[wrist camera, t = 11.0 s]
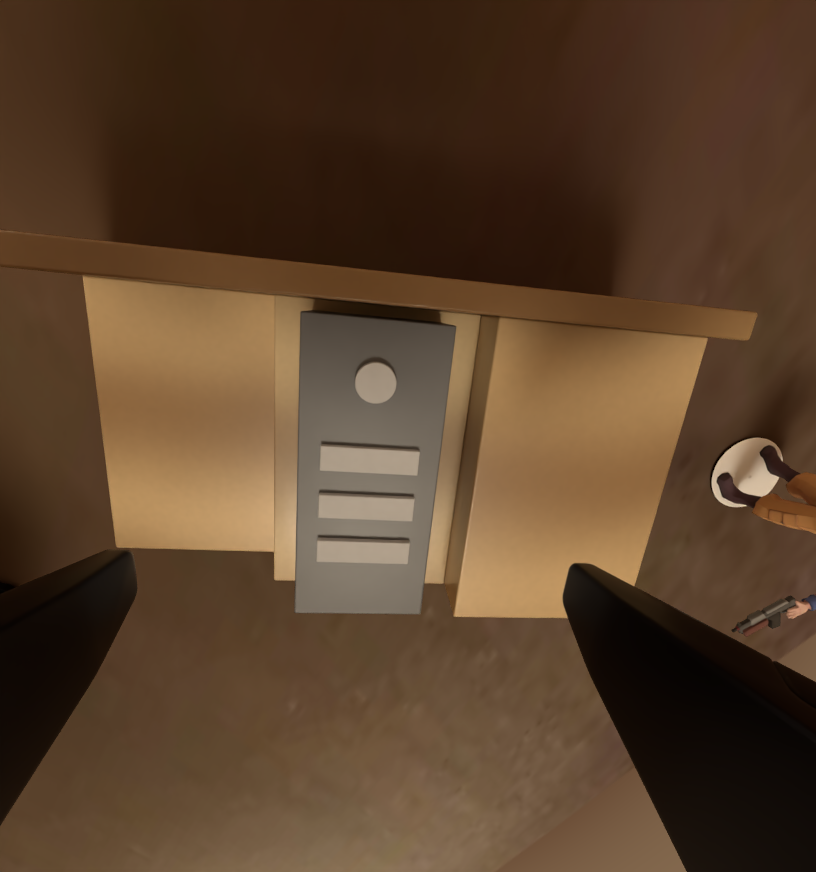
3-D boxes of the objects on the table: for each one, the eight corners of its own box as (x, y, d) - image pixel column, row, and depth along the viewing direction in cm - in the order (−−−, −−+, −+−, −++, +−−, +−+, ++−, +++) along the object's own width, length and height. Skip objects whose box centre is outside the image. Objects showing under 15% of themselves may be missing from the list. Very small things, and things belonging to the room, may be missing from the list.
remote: (412, 570, 17) (421, 619, 15) (304, 568, 17) (293, 618, 14) (441, 322, 14) (458, 326, 12) (311, 309, 14) (298, 311, 11)
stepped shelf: (559, 539, 22) (650, 649, 15) (139, 524, 20) (12, 648, 13) (610, 309, 19) (759, 312, 12) (111, 256, 16) (-84, 220, 9)
